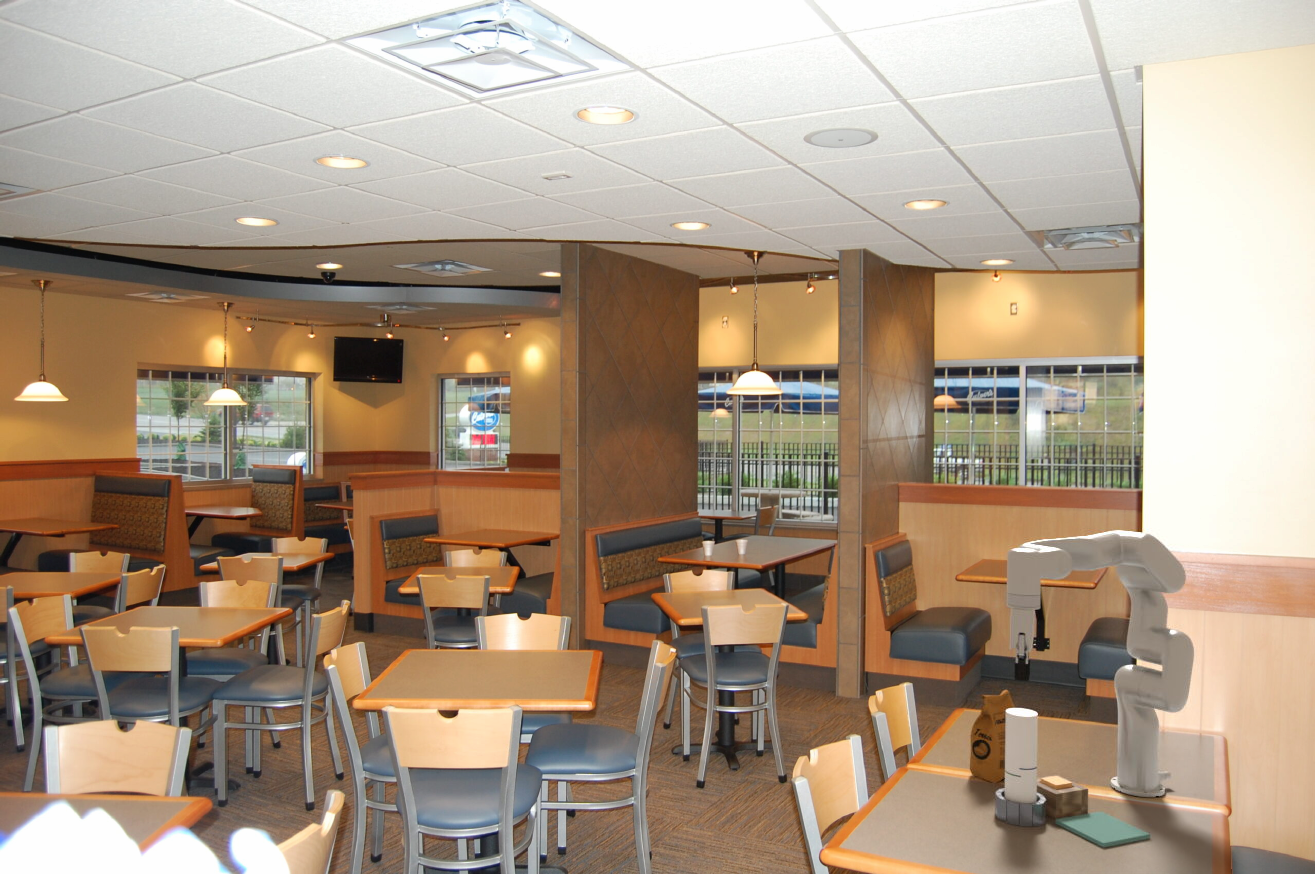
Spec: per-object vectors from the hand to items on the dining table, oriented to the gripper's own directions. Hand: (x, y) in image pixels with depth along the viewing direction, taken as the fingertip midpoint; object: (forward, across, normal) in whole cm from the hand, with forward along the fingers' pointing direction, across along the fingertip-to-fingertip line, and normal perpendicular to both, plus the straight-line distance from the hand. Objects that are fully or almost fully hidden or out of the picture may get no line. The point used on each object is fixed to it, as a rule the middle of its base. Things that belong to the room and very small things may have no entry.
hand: (1022, 676), depth 232 cm
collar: (+33, 0, 0) cm, 33 cm away
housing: (+33, -9, +8) cm, 35 cm away
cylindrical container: (+34, 0, 0) cm, 34 cm away
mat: (+33, +1, +18) cm, 38 cm away
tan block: (+32, -9, +8) cm, 34 cm away
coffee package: (+34, -28, -8) cm, 44 cm away
